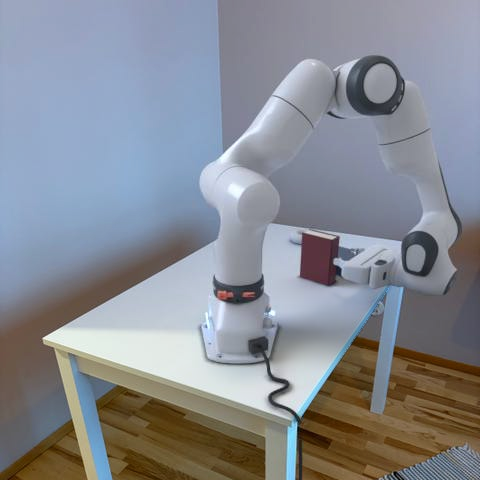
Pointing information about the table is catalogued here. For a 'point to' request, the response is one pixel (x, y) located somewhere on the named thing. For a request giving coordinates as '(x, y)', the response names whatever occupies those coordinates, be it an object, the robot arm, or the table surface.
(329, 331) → the table surface
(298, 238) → the donut
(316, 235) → the burgundy book
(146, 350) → the table surface
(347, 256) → the slate book
